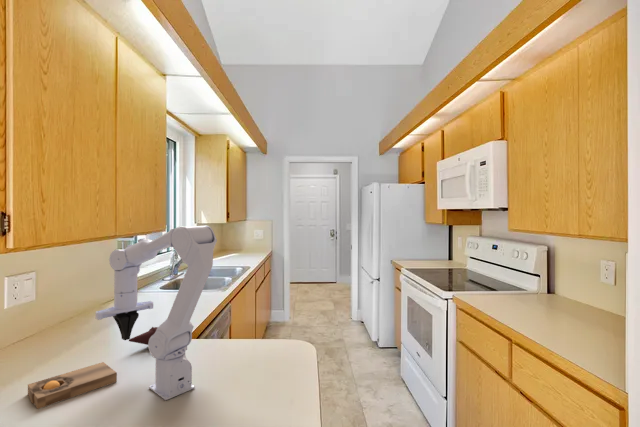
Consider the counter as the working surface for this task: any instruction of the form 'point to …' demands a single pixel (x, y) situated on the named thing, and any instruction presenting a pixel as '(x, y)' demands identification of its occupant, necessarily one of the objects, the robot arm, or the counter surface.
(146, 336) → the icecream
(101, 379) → the board
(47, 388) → the ball
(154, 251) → the robot arm
